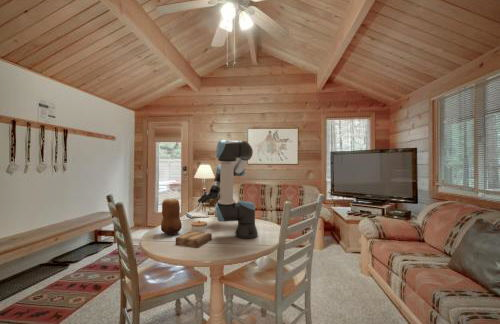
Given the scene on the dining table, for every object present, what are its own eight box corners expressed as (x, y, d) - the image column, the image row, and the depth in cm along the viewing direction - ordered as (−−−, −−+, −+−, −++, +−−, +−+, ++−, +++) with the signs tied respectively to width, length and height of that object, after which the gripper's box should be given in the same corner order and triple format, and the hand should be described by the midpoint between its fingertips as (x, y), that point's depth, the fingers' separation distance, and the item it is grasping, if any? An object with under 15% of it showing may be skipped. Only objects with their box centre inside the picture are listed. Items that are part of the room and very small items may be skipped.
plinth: (211, 239, 167) (211, 233, 167) (198, 247, 152) (198, 240, 152) (190, 237, 173) (190, 230, 173) (175, 244, 158) (175, 237, 158)
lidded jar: (203, 236, 173) (203, 222, 173) (188, 236, 175) (188, 222, 175) (209, 232, 184) (209, 219, 184) (195, 231, 186) (195, 218, 186)
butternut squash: (174, 230, 189) (174, 196, 188) (185, 233, 180) (185, 198, 180) (156, 234, 178) (156, 198, 178) (167, 238, 170) (167, 200, 169)
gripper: (231, 192, 201) (223, 215, 187) (203, 190, 210) (193, 212, 196) (228, 185, 196) (220, 209, 182) (200, 184, 205) (189, 207, 191)
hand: (206, 211), depth 189 cm, fingers open, 13 cm apart
